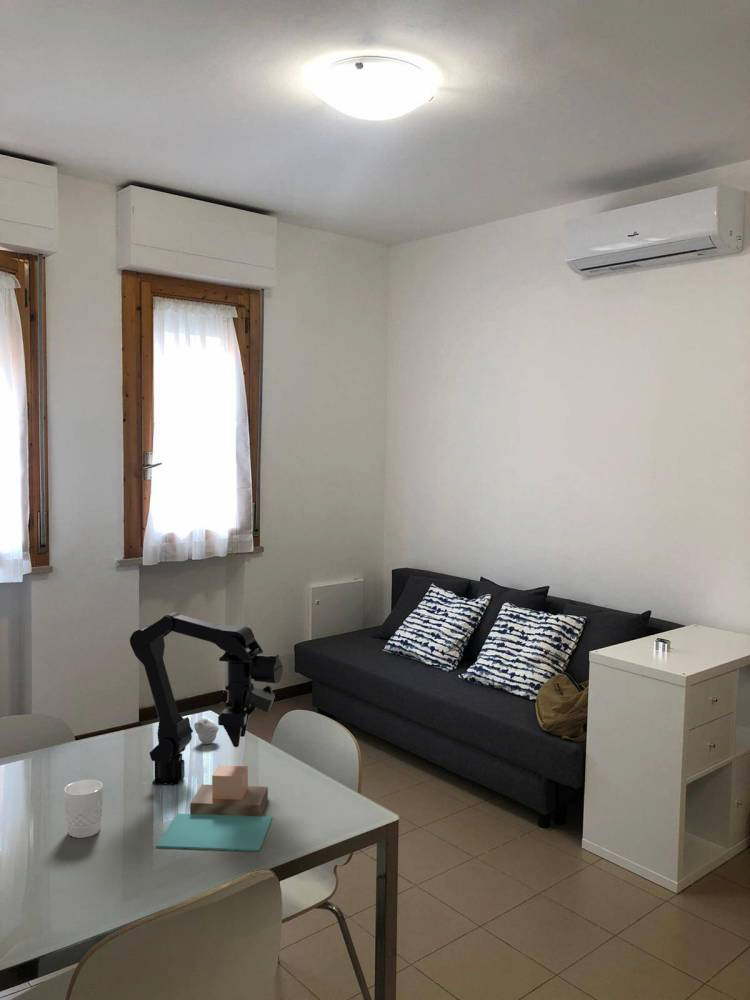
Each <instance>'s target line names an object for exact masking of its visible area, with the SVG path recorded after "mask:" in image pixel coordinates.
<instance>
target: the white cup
mask: <svg viewBox="0 0 750 1000" xmlns="http://www.w3.org/2000/svg"><path fill="white" fill-rule="evenodd" d="M103 787H104V786H103V782H101V781H99V780H96V779H81V780H76V781H74V782H71V783H69V784H67V785H66V786H65V787H64V790H63V791H64V801H65V814H66V815H65V816H66V822H67V829H68V830H67V831H68V833H67V834H68V835H69V836H70V837H71V836H72V838H75V837H76V838H75V839H80V838H81V839H85V838H88V837H92V836H95V835H96V834H99V832H100V831H101V829H102V828H101V821H102V816H103V815H102V813H103V811H102V810H103V789H104V788H103Z"/></svg>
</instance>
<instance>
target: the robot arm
mask: <svg viewBox="0 0 750 1000" xmlns="http://www.w3.org/2000/svg"><path fill="white" fill-rule="evenodd" d="M172 632H174V633H176V634H180V635H184V636H187V637H192V638H194V639H198V640H202V641H206V642H209V643H212V644H214V645H215V646H217V647H218V648H219V649H220V650H221V651H224V653H223V654H222V655H221V656H220V657H219V658H218V661H219V662H226V663H227V683H226V685H225V691H227V700H226V702H225V707H228V708H224V709H223V710H222V711H221V712H220V714H219V715H218V716H217V726H223V728H224V730H225V732H226V734H227V736H228V738H229V740H230V742H231V744H232V746H233V747H234V748H239V746H240V740H241V737H243V738H244V737H245V736H246V733H247V732H246V731H247V728H248V723H249V718H250V716H251V713H253V712H254V711H255V710H256V709H259V710H262V711H263V712H264V713H269V712H270V709H271V707H272V706H273V703H274V699H276V695H275V693H273V691H274V690H273V686H271V685H268V684H279V683H280V682H281V680H282V676H283V672H284V671H283V667H284V666H283V663H282V660H280V654H278V653H273V654H272V653H271V654H269V653H268V654H266V653H264V650H263V649H262V647H261V646H260V644H259V643H258V641H257V640H256V637H255V634H254V632H253V629H252V628H250V627H249V626H245V625H234V624H233V625H232V624H231V625H230V624H229V625H220V624H217V623H213V622H209V621H207V620H206V621H205V620H202V619H197V618H194V617H191V616H187V615H183V614H180V613H179V612H176V611H174V612H173V611H172V612H170V613H167V614H166V615H164V616H163V617H162V618H160V619H159V620H158V621H156V622H154V623H153V624H149V625H147V626H144V627H142V628H140V629H137V630H135V631H133V633H132V634H131V636H130V637H129V644H130V647H131V649H132V652H133V654H134V656H135V658H137V660H139V662H140V663H141V664H142V665H143V667H144V670H145V674H146V677H147V678H146V679H147V681H148V686H149V688H150V692H151V696H152V699H153V702H154V706H155V709H156V714H157V716H158V727H157V732H156V734H157V741H158V744H157V745H156V746H155V747H154V748H153V749H152V750H151V751H150V752H149V756H150V759H151V761H152V762H154V779H153V780H152V782H151V783H152V784H154V785H174V786H175V785H179V784H180V782H181V780H182V779H183V778H184V777H185V775H186V774H185V768H186V767H185V760H184V759H183V753H182V752H184V751H185V750H186V747H187V746H188V745H189V744H190V743H191V741H192V738H193V736H192V733H193V732H194V730H193V728H192V727H191V723H190V719H189V717H188V716H187V717H182V715H181V714H180V713H179V711H178V708H177V704H176V701H175V697H174V693H173V689H172V685H171V683H170V679H169V676H168V673H167V672H168V671H167V668H166V665H165V661H164V654H165V653H164V652H165V646H166V645H165V637H166V636H169V635H170V634H171V633H172ZM247 650H249V651H247ZM255 682H259V683H266V685H265V686H264V687H262V688H261V687H259V688H257V687H255ZM267 683H268V684H267ZM229 707H230V708H229Z"/></svg>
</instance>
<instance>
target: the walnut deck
mask: <svg viewBox="0 0 750 1000" xmlns="http://www.w3.org/2000/svg"><path fill="white" fill-rule="evenodd" d="M267 799H269V788H268V786H262V785H261V786H260V785H259V786H258V785H257V786H256V785H255V786H254V785H248V789H247V791H246V793H245V795H244V797H243V799H242V800H235V799H212V784H201V785H200V787H199V788H198V790H197V792H196V793H195V795H194V796H193V798H192V799H191V801H190V803H189V810H190V811H189V814H209V815H237V816H262V814H263V810H264V808H265V807H266V804H267V802H268V800H267Z"/></svg>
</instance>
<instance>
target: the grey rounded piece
mask: <svg viewBox="0 0 750 1000" xmlns="http://www.w3.org/2000/svg"><path fill="white" fill-rule="evenodd" d="M193 727H194V731H195V733H196V734H197V736H198V739H199V741H200V742H201V743H202V744H204V745H210V744H212V743H213V742H214V741H215V740H216V738H217V733H218V731H219V725H216V724H215V723H214V722H212V721H210V720H209V719H208V718H200V719H199V720H198V721H195V723H193Z"/></svg>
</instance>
